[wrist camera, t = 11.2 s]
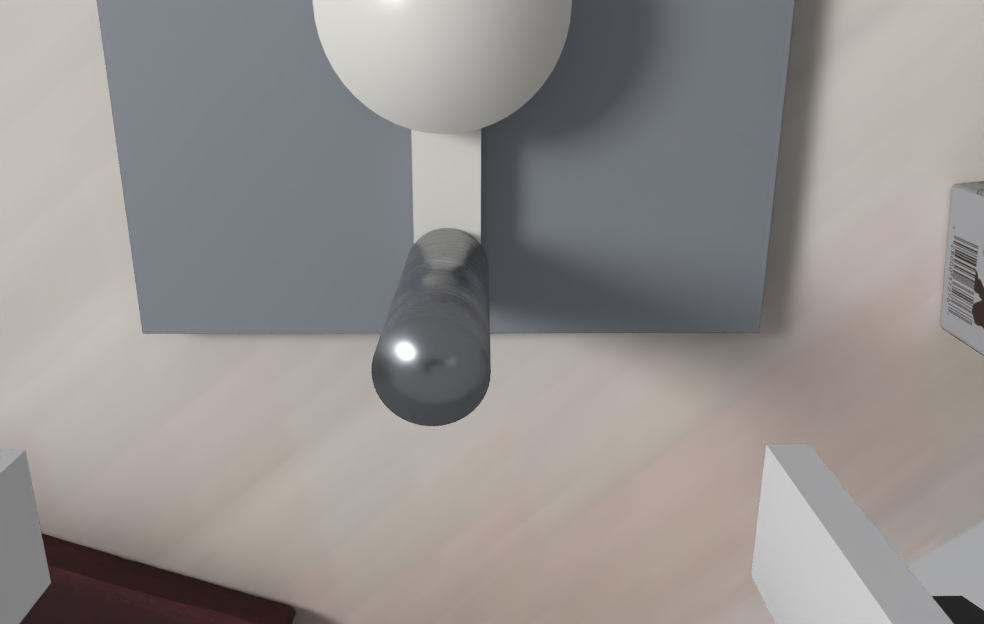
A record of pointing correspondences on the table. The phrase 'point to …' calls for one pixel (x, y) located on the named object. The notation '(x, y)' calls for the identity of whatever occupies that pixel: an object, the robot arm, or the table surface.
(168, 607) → the book
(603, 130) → the dial base plate
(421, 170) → the white grey handled piece
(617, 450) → the table surface
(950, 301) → the cookie box
